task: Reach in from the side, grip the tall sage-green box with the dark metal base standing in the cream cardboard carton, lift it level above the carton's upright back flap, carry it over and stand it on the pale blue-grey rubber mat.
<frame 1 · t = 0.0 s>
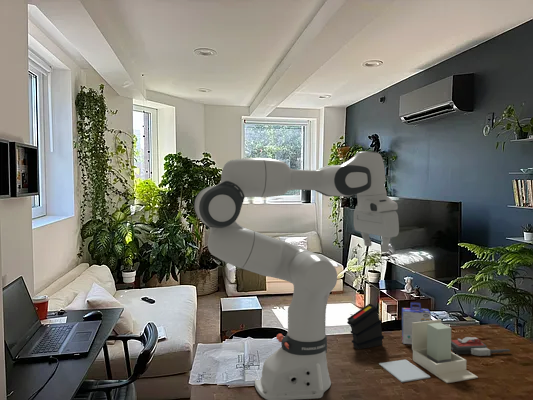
hand: (376, 248, 119), 39 cm above the table, tool pointing down, fingers open, 8 cm apart
magazine: (365, 347, 140), on the table
carton: (438, 365, 125), on the table
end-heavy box: (438, 365, 125), resting in carton
ink cartridge box: (415, 343, 143), on the table
walkie-talkie: (476, 352, 136), on the table
mat: (403, 370, 121), on the table
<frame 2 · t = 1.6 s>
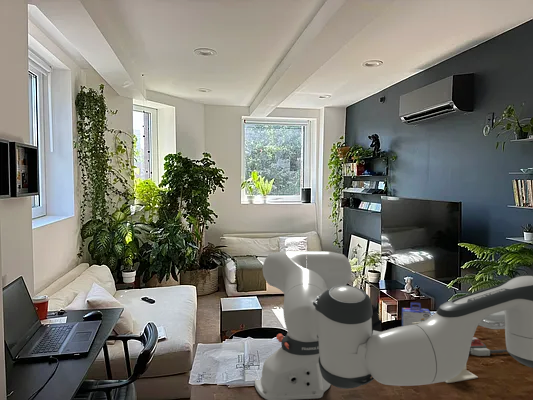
hand: (486, 306, 104), 25 cm above the table, tool horizontal, fingers open, 8 cm apart
nothing on the table moved.
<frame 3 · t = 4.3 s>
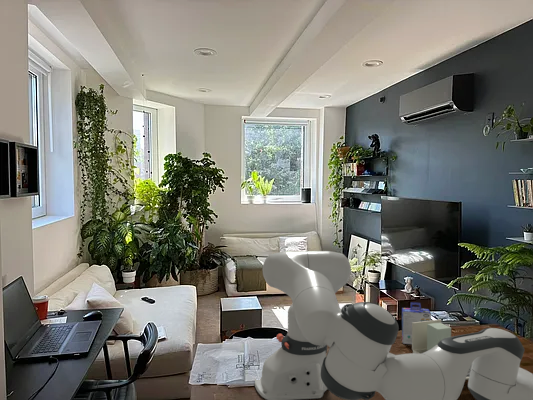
hand: (453, 350, 119), 7 cm above the table, tool horizontal, fingers open, 8 cm apart
nothing on the table moved.
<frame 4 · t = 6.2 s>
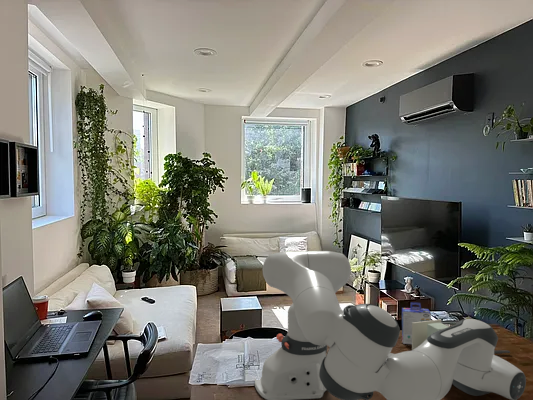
hand: (437, 341, 125), 8 cm above the table, tool horizontal, fingers closed on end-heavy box, 5 cm apart
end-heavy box: (438, 365, 125), resting in carton, touching gripper
everything else where it was.
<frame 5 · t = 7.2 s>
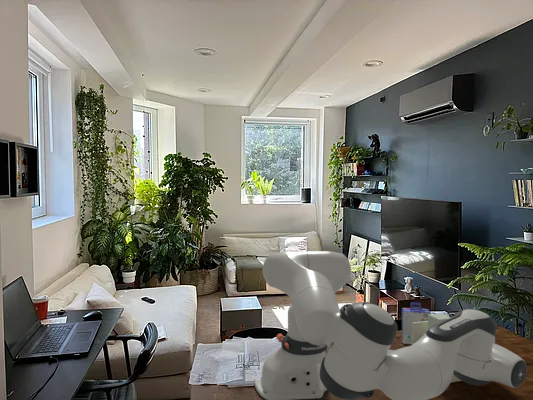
hand: (437, 332, 125), 11 cm above the table, tool horizontal, fingers closed on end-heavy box, 5 cm apart
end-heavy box: (439, 356, 125), point 3 cm above the table, touching gripper
everything else where it was.
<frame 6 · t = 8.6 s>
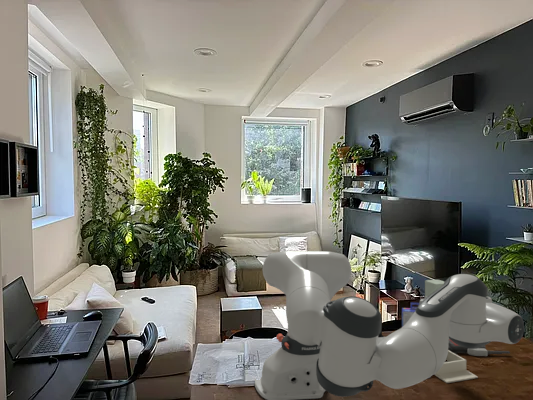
hand: (434, 297, 125), 22 cm above the table, tool horizontal, fingers closed on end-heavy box, 5 cm apart
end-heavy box: (436, 321, 124), point 14 cm above the table, touching gripper
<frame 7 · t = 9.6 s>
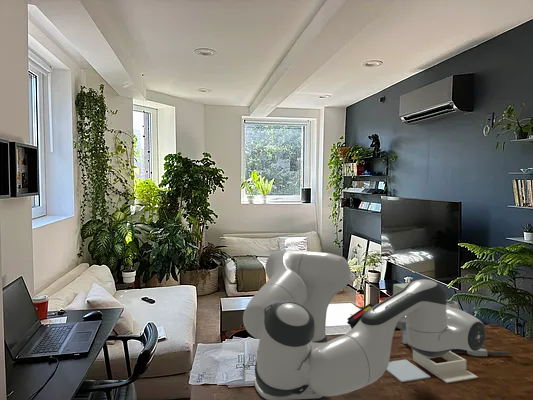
hand: (403, 302, 121), 22 cm above the table, tool horizontal, fingers closed on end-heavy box, 5 cm apart
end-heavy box: (404, 326, 121), point 14 cm above the table, touching gripper
when the fingers open (9 cm above the table, at t = 12.2 s): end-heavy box drops 1 cm, resting on mat.
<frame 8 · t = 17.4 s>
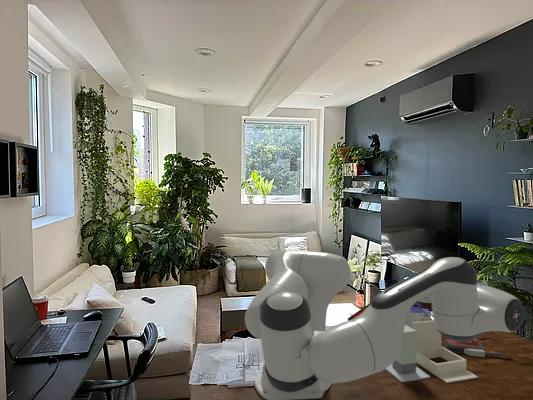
hand: (424, 283, 111), 30 cm above the table, tool horizontal, fingers open, 8 cm apart
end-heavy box: (404, 369, 121), resting on mat
at the end: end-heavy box inside the target area on the mat (0.1 cm from its centre), point 0.4 cm above the mat's base; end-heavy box tilted 0°; the gripper is holding nothing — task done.
